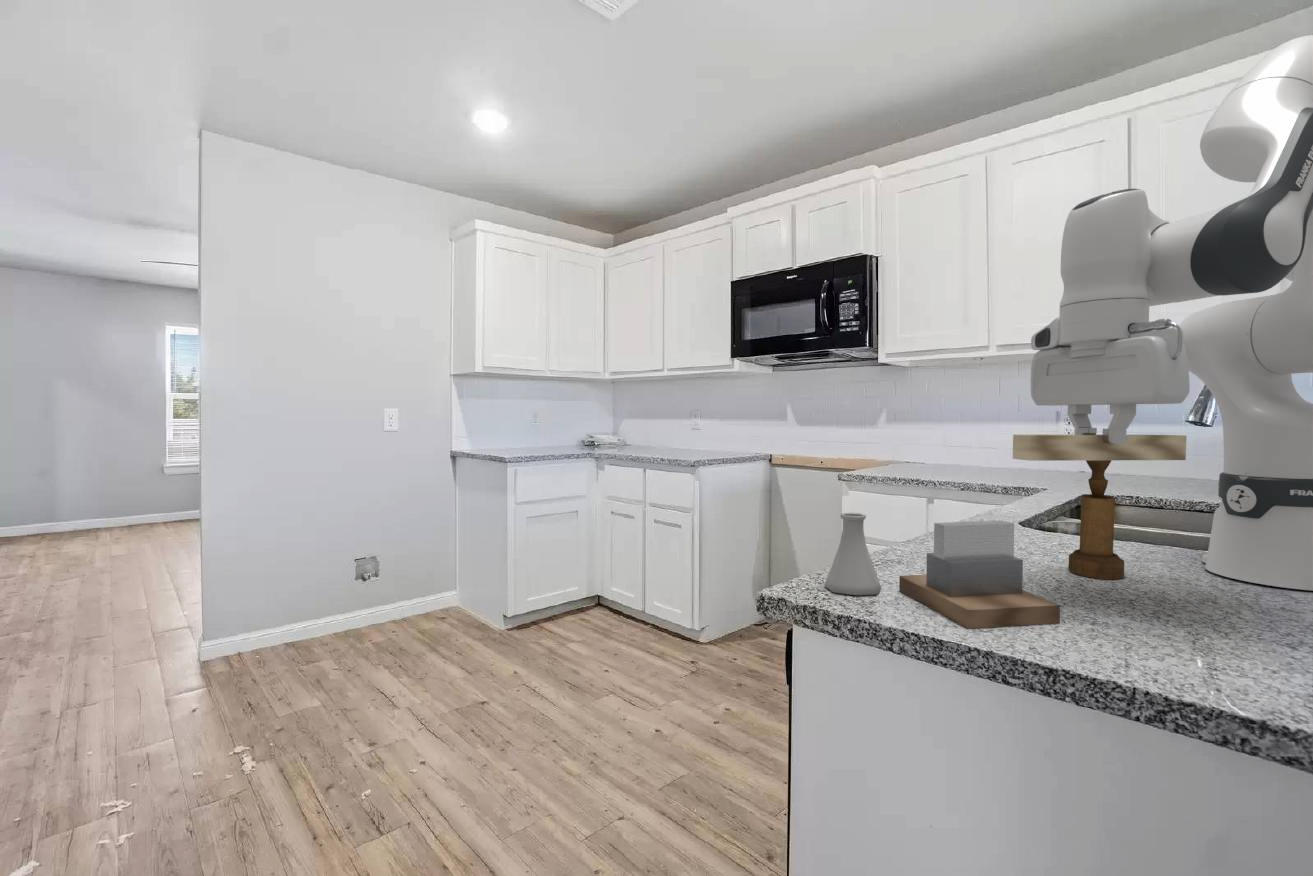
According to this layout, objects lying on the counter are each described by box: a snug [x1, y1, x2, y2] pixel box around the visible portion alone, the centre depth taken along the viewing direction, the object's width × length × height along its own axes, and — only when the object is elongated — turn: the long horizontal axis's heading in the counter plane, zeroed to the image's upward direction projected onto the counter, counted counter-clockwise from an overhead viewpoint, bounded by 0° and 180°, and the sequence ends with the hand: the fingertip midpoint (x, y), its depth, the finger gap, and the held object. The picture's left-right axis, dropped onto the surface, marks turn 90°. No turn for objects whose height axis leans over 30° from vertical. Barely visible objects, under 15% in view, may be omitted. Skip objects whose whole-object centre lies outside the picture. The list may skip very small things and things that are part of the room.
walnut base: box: [898, 574, 1061, 629], centre depth 74 cm, size 11×14×2 cm
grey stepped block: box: [926, 520, 1024, 597], centre depth 73 cm, size 9×5×8 cm, turn 98°
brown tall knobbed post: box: [1067, 460, 1125, 580], centre depth 87 cm, size 7×6×18 cm
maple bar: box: [1012, 434, 1187, 462], centre depth 75 cm, size 20×3×3 cm, turn 94°
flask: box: [824, 512, 882, 596], centre depth 81 cm, size 7×7×10 cm
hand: (1099, 442), depth 75 cm, fingers closed on maple bar, 3 cm apart
